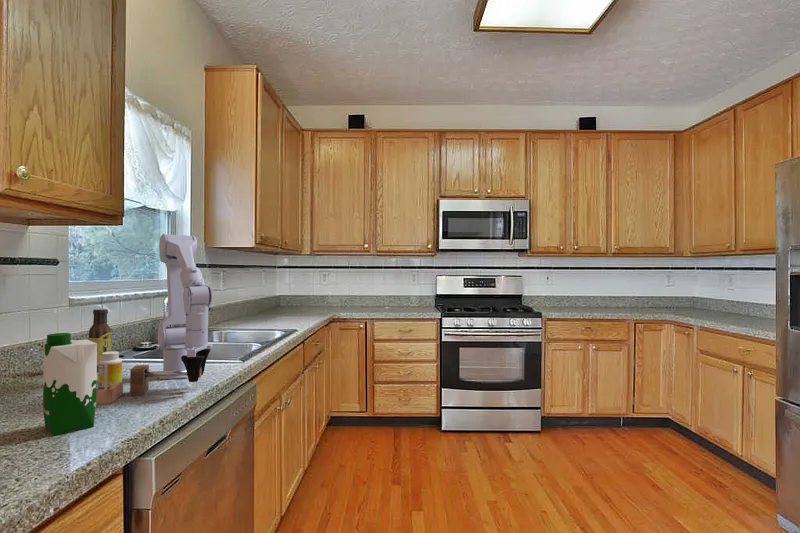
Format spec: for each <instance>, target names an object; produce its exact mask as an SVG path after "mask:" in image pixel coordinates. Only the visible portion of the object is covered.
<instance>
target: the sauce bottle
mask: <svg viewBox="0 0 800 533" xmlns="http://www.w3.org/2000/svg"><path fill="white" fill-rule="evenodd" d="M92 314H93V320H92V325H91V326H90V328H89V330H88V339H87V340H89V341H92V342H94V343H97V372H98V362H99V361H100V360H102V353H104V352H110V351H112V331H111V330H112V329H111V328H110V325H109V324H108V314H109V309H108V308H94V309H93V310H92Z"/></svg>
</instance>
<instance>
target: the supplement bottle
mask: <svg viewBox="0 0 800 533" xmlns="http://www.w3.org/2000/svg"><path fill="white" fill-rule="evenodd" d="M119 354H120V353H119V351H112V350H111V351H110V352H104V353H102V360H100V361H99V362H98V371H97V374H98V375H97V390H108V389H109V388H111V387H112V386H113V385H115V384H116V383H118V382H123V360H122V358H120V355H119Z"/></svg>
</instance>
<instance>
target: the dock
mask: <svg viewBox="0 0 800 533" xmlns="http://www.w3.org/2000/svg"><path fill="white" fill-rule="evenodd" d="M123 394H124V381H122V382H118V383H116V384H115V385H113V386H112V387H111V388H109V389H108V390H99V389H97V390H96V405H110V404H112V403H113V402H115V401H116V400H117V399H119V397H121V396H122V395H123Z"/></svg>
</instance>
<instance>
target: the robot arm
mask: <svg viewBox="0 0 800 533" xmlns="http://www.w3.org/2000/svg"><path fill="white" fill-rule="evenodd" d="M158 250H159V252H158V253H159V254H158V255H159V261H160V262H162V263H163V264H165V269H166V280H167V281H166V282H167V284H166V285H167V286H166V287H167V316H166V317H165V318H164V319H162V320H161V321H160V322H159V324H158V332H157V344H158V345H159V347H160V348H162V349H163V359H162V360H163V368H162V369H163V370H162V371H180V370H186V371H187V375H185V376H159V377H158V379H159V380H169V379H187V380H188V382H189V383H195V382H196V383H197V382H198V381H199V373H200V367H202V375H201V376H203V375H204V371H205V368H206V362H207V360H208V356H209V354H210V352H211V348H213V343H209V307H210V306H211V304H212V299H213V293H212V288H211V285H208V283H205V280H204V277H203V274H202V271H201V269H200V268H199V267H197V266H196V264H195V259H194V258H195V257H194V256H195V255H196V253H197V250H198V240H197V237H196V236H195V235H194V234H192V235H187V234H186V235H185V234H184V235H183V234H166V233H162V235H160V236H159V242H158Z"/></svg>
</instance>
